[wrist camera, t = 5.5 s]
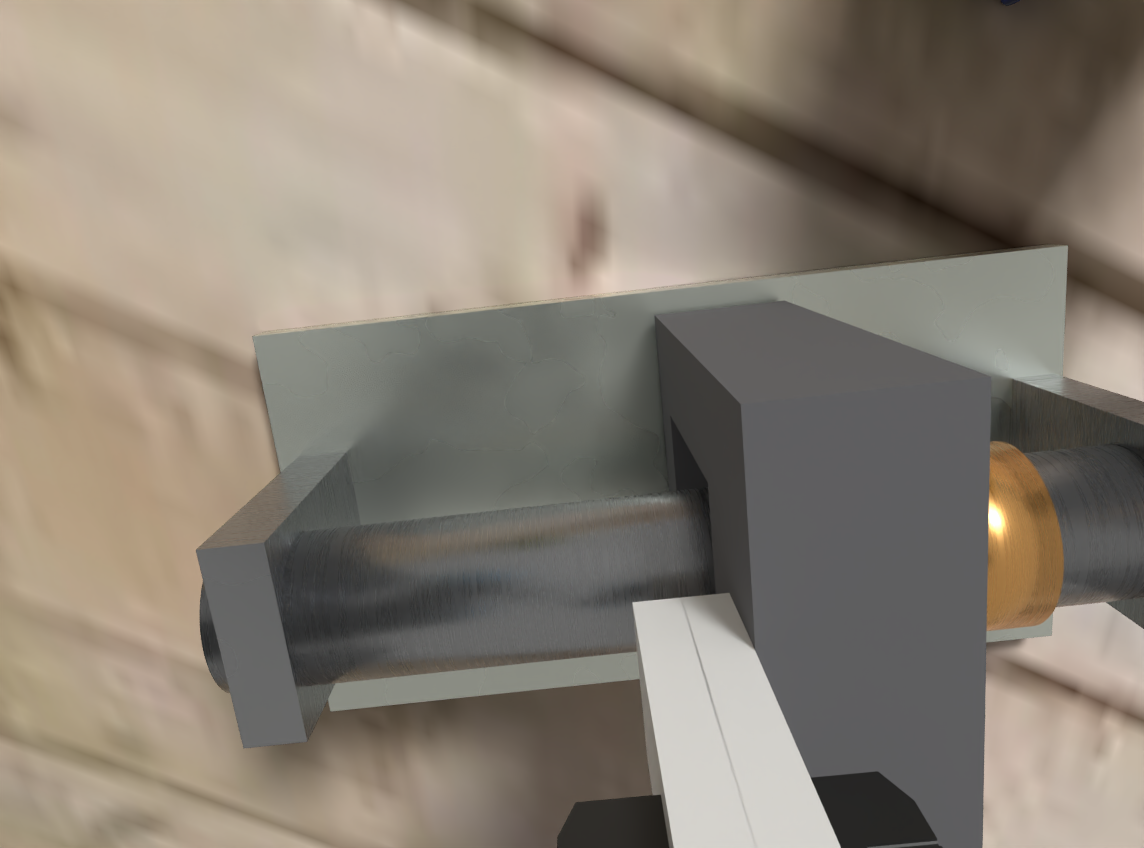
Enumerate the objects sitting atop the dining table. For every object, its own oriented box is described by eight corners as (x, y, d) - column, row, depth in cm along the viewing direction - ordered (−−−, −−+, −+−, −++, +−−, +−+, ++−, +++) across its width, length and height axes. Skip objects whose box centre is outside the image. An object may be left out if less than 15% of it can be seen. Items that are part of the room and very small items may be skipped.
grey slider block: (683, 663, 21) (775, 996, 12) (654, 315, 19) (740, 403, 10) (800, 651, 21) (979, 976, 12) (784, 300, 19) (990, 376, 10)
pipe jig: (338, 694, 22) (244, 896, 16) (264, 331, 20) (115, 388, 13) (1034, 620, 22) (1238, 793, 15) (1048, 244, 19) (1297, 257, 13)
